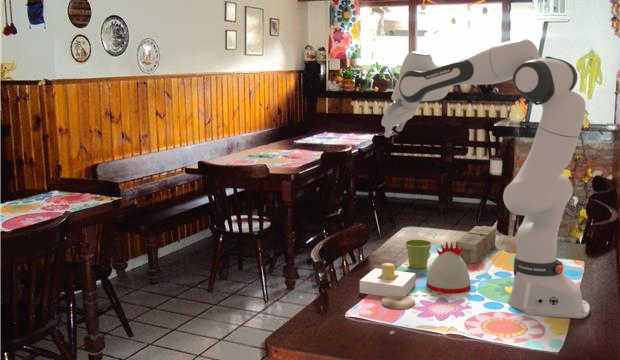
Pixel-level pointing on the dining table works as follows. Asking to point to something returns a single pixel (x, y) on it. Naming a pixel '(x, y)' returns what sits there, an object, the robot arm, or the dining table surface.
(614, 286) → the dining table surface
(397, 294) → the pocket block
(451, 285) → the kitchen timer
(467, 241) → the block tower
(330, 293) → the dining table surface
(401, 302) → the coaster
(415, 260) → the plant pot
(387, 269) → the dowel
